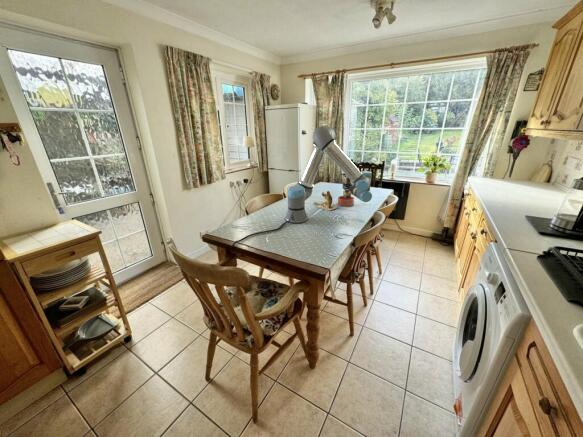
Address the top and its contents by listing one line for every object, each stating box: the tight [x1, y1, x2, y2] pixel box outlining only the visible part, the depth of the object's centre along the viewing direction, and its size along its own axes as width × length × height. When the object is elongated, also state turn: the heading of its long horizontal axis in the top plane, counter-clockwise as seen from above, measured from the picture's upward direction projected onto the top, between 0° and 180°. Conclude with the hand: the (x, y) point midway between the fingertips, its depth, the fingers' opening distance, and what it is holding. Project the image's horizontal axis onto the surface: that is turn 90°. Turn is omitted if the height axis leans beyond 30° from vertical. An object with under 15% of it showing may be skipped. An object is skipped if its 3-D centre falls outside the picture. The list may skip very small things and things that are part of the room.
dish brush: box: [342, 176, 352, 199], centre depth 183 cm, size 6×4×16 cm
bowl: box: [337, 195, 355, 207], centre depth 196 cm, size 13×13×6 cm
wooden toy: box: [313, 190, 339, 212], centre depth 190 cm, size 22×10×14 cm, turn 37°
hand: (345, 184), depth 187 cm, fingers closed on dish brush, 3 cm apart
